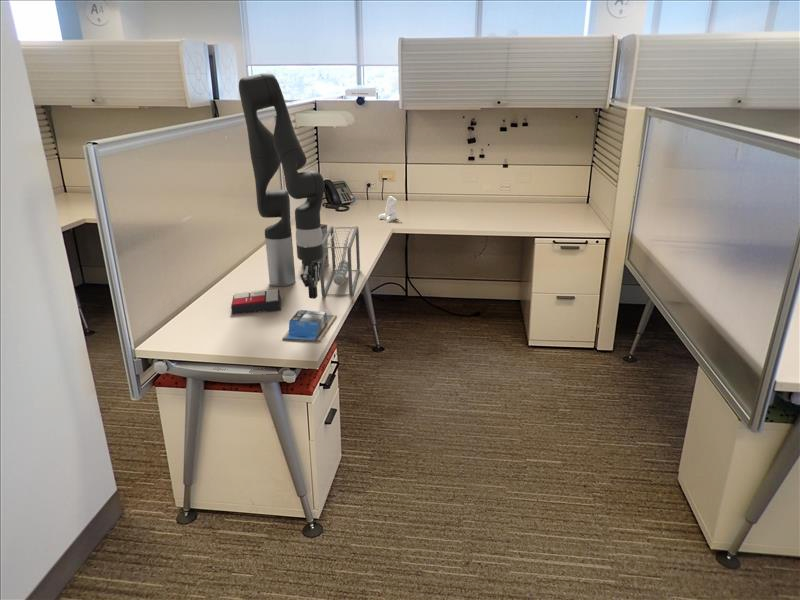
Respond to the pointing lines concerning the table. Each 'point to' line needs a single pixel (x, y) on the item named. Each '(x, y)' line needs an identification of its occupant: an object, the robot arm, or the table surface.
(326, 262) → the coffee box
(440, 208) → the table surface
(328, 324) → the mat
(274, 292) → the black red flat box
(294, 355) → the table surface
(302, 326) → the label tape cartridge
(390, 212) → the sitting furry creature
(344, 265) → the newton's cradle
